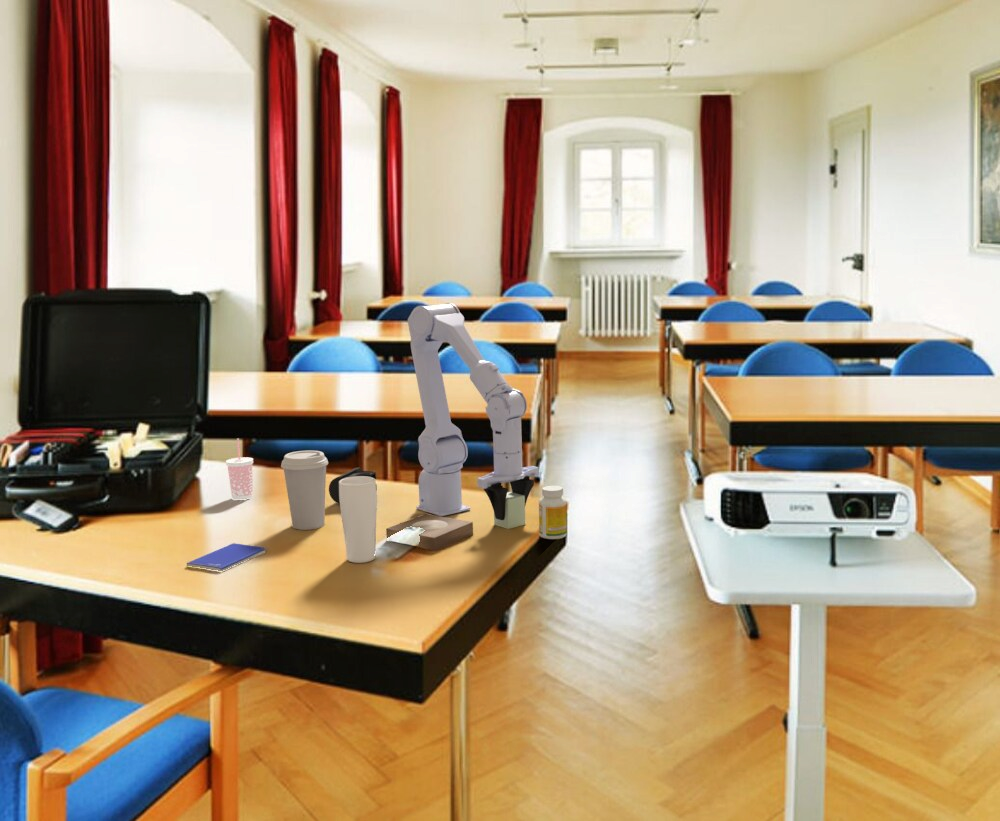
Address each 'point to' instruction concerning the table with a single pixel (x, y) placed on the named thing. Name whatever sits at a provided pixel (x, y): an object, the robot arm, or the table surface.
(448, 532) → the plinth
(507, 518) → the block
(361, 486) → the drinking glass
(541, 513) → the supplement bottle
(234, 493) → the beverage cup
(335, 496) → the end cap
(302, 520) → the coffee cup
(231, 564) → the blue notebook
